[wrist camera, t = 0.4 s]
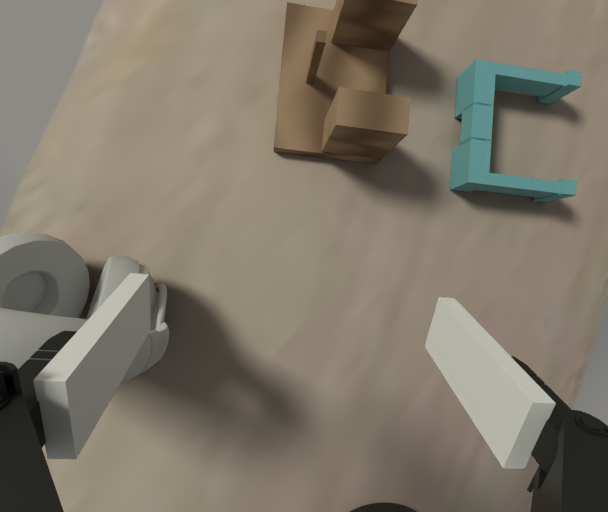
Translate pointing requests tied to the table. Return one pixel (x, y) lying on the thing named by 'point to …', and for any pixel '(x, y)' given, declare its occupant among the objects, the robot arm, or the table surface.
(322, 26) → the stand
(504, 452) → the robot arm
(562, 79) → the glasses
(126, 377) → the headphones
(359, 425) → the table surface
